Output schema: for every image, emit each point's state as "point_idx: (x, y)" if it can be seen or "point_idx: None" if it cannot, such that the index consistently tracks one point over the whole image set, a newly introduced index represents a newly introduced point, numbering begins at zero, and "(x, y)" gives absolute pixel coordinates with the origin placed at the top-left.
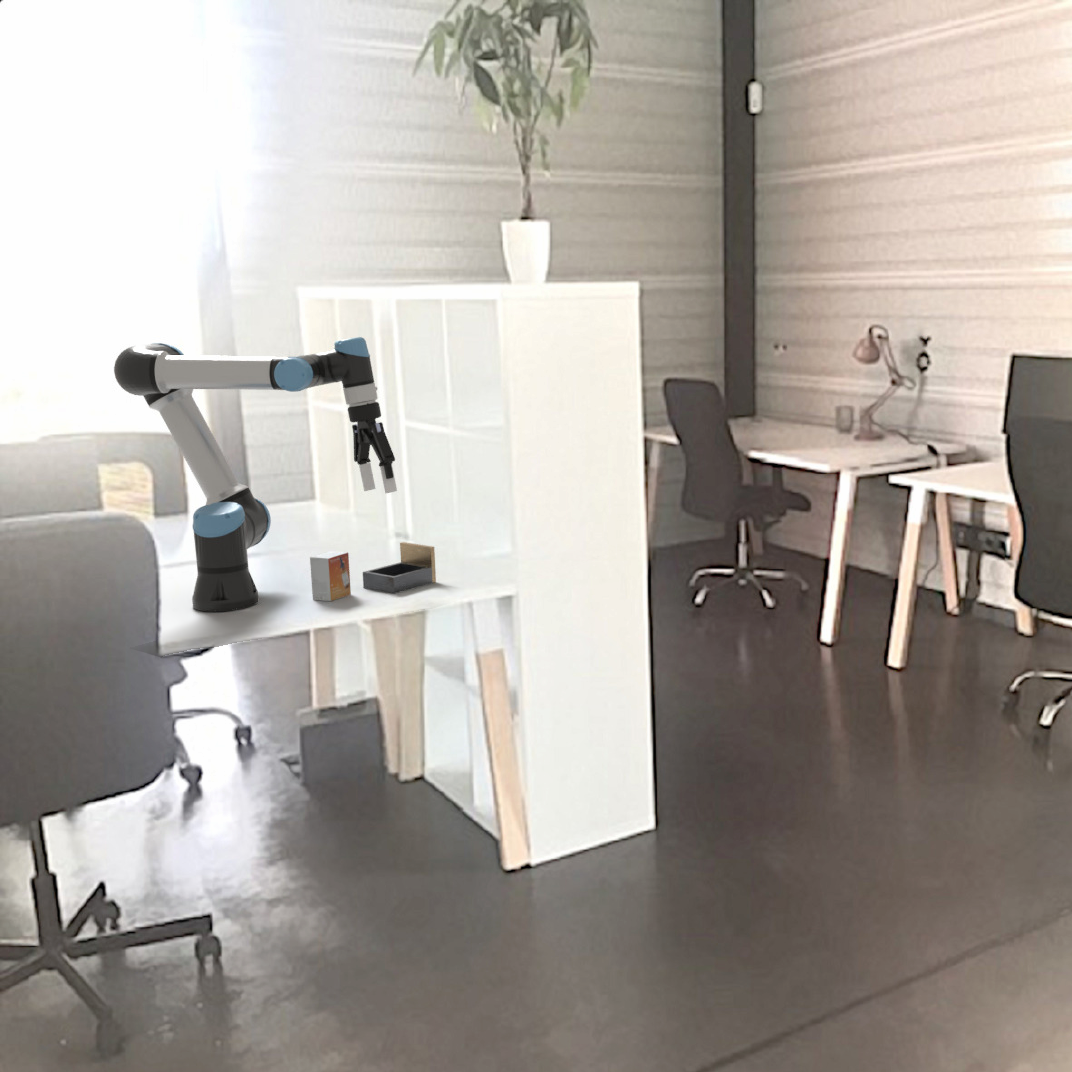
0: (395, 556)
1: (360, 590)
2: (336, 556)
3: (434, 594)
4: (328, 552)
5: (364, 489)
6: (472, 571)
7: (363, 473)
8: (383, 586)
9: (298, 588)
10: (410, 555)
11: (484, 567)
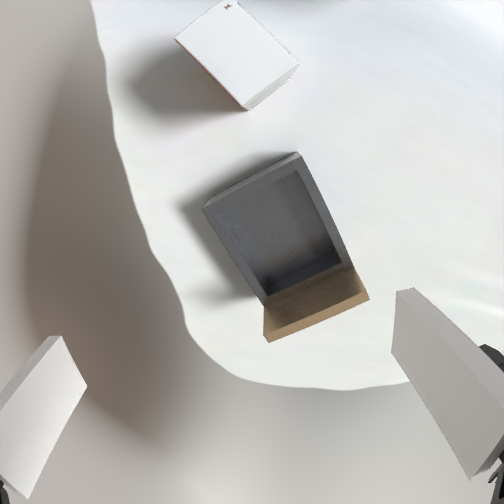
0: (486, 282)
1: (277, 139)
2: (200, 63)
3: (172, 265)
4: (271, 50)
5: (411, 294)
6: (311, 360)
7: (460, 376)
8: (236, 185)
9: (364, 32)
10: (327, 290)
11: (325, 377)
